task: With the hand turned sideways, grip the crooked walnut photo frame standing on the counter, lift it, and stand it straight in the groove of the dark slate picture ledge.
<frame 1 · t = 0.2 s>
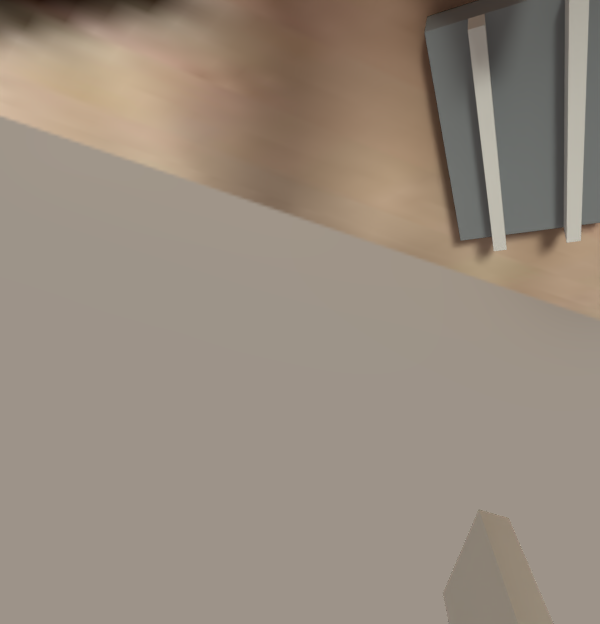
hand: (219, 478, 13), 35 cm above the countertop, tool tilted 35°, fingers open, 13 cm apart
slate picture ledge: (526, 115, 38), on the countertop
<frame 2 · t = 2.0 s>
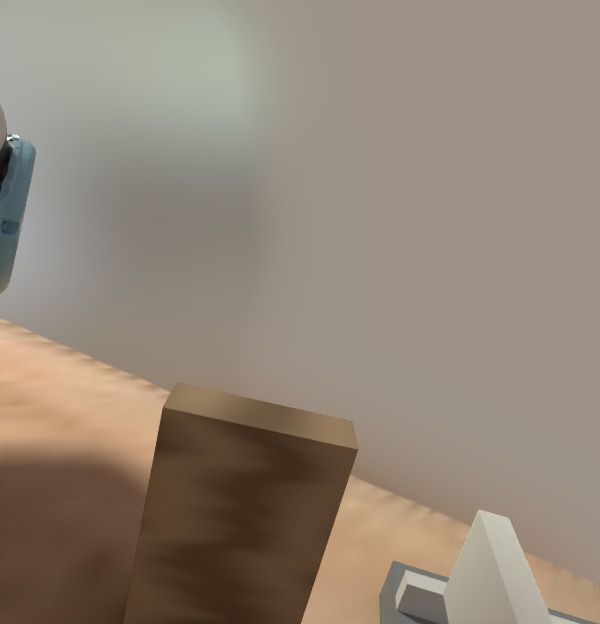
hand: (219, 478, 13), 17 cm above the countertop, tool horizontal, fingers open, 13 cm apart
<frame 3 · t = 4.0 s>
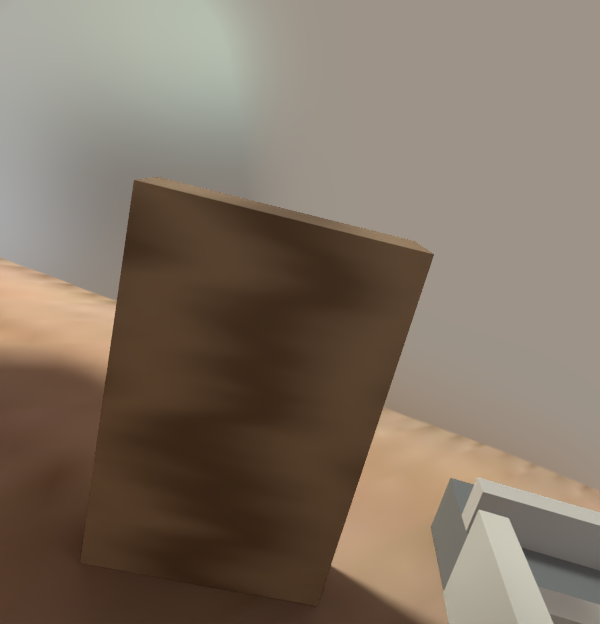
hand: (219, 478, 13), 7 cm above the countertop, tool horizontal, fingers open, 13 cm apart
walnut photo frame: (206, 559, 19), on the countertop
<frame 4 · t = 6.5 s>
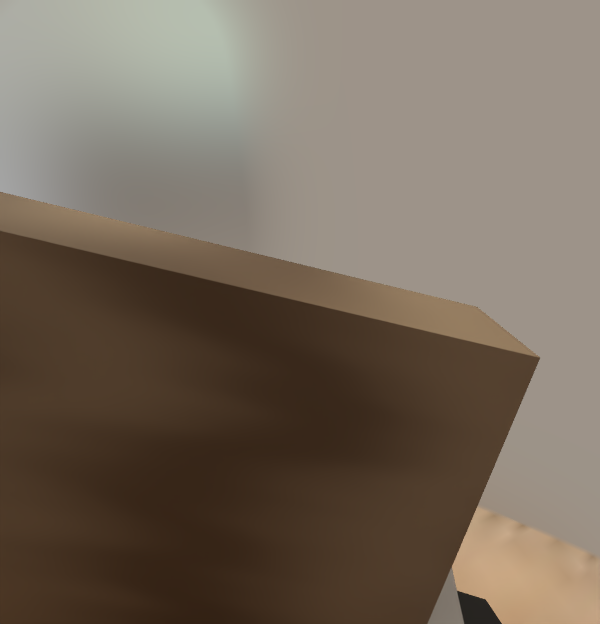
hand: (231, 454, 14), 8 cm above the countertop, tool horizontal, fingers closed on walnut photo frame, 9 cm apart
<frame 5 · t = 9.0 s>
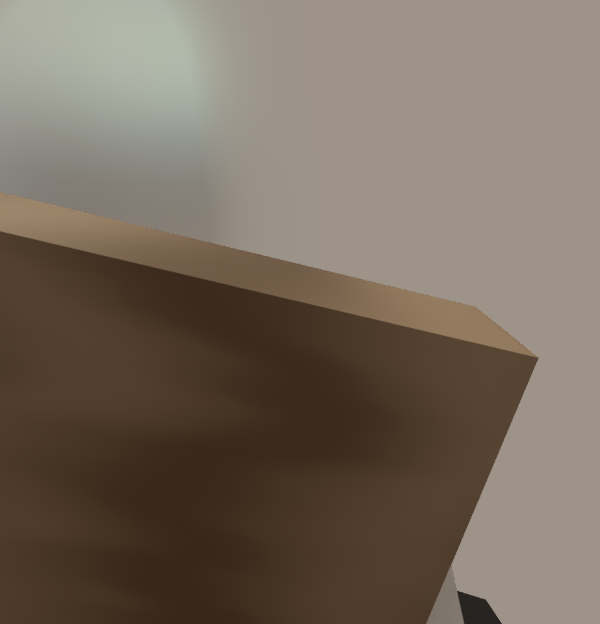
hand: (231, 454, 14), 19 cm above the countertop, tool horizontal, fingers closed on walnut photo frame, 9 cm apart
when the fingers open (11 cm above the countertop, at t = 11.5 s): walnut photo frame stays where it is, resting on slate picture ledge.
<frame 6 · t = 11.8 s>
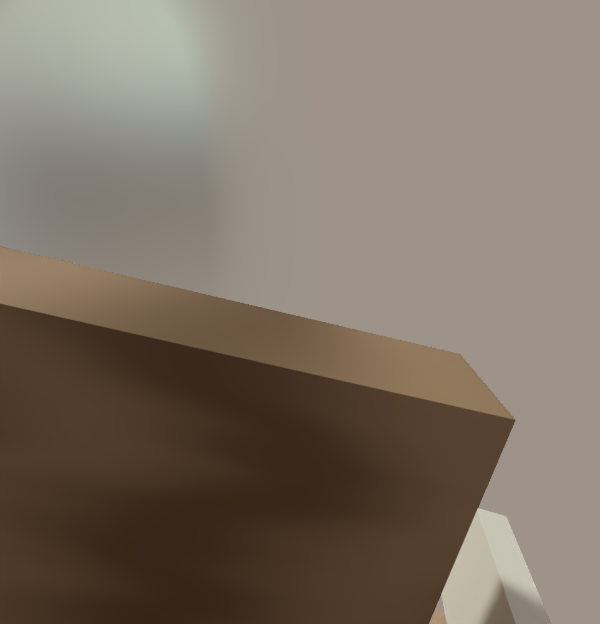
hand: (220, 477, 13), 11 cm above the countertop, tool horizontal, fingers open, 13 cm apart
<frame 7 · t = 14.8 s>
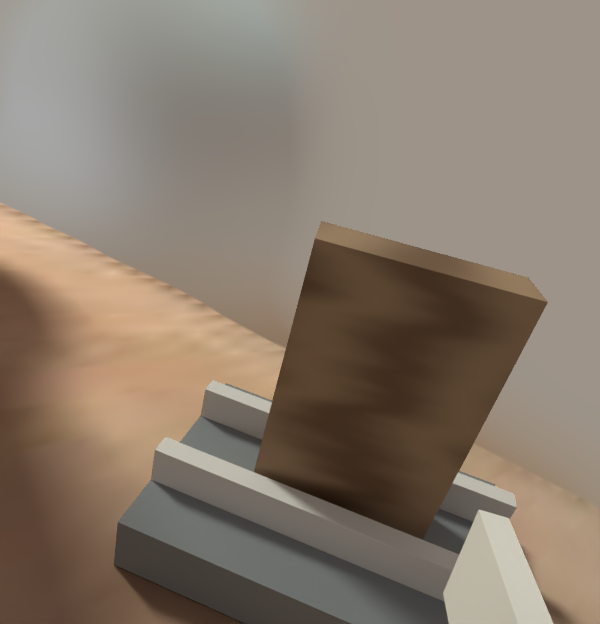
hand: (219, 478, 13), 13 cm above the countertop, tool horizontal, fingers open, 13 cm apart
slate picture ledge: (321, 537, 27), on the countertop
walnut photo frame: (334, 501, 26), point 3 cm above the countertop, touching slate picture ledge
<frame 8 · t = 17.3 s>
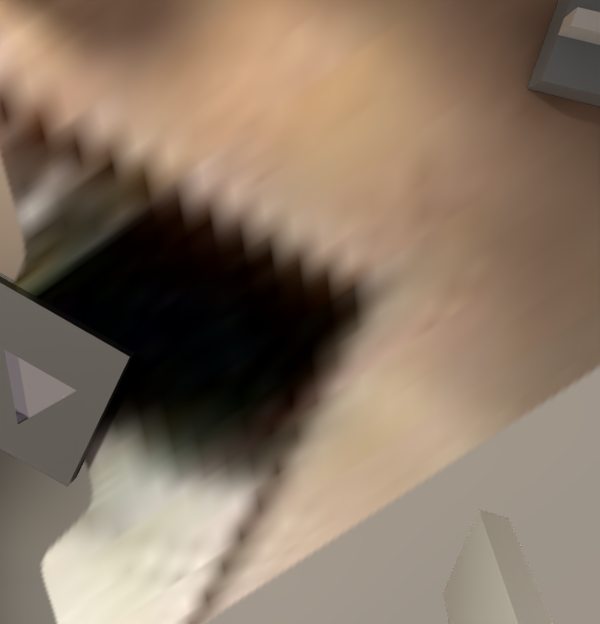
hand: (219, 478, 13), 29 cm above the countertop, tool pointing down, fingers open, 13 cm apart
play button award: (16, 365, 47), on the countertop
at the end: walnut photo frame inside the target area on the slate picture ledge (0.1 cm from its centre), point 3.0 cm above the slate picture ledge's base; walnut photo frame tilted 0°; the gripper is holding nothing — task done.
